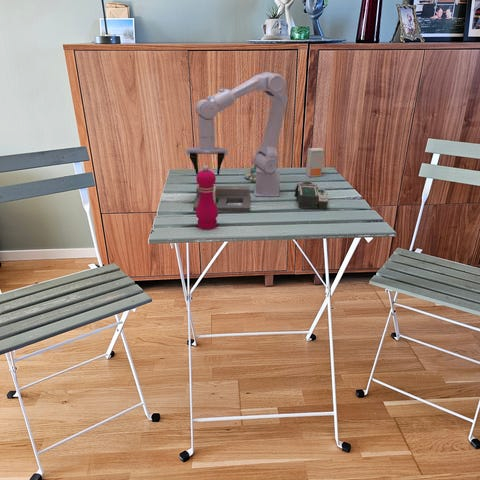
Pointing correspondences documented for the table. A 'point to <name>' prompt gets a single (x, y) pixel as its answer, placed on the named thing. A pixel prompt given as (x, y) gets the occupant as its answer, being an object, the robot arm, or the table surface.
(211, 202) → the pepper mill
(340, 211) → the table surface
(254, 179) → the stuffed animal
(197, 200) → the socket panel
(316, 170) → the skincare box
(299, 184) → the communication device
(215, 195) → the plug
